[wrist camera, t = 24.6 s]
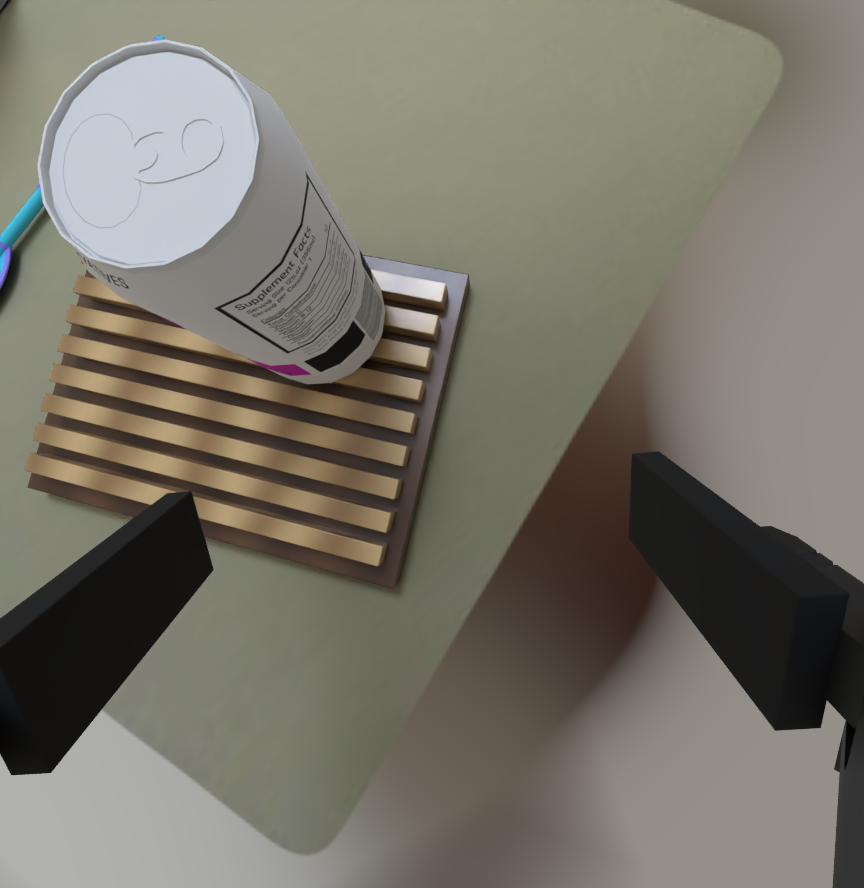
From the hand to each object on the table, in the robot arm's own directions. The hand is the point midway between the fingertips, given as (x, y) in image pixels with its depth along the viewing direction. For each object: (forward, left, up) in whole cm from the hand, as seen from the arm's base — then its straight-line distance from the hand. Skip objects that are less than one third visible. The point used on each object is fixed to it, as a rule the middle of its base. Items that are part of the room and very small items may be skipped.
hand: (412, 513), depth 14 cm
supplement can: (+10, -8, -13) cm, 19 cm away
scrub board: (+15, -4, -16) cm, 22 cm away
